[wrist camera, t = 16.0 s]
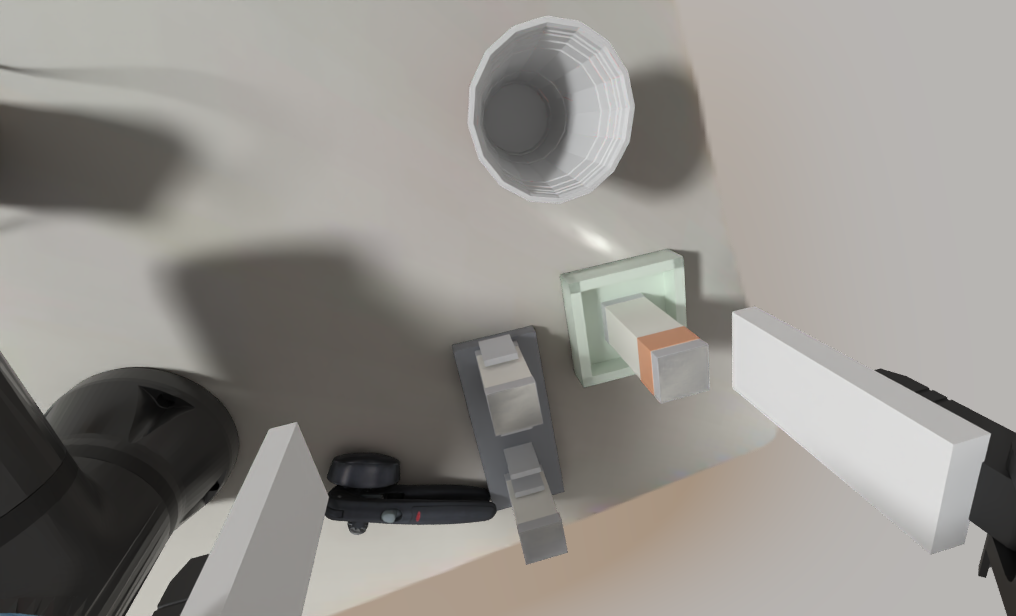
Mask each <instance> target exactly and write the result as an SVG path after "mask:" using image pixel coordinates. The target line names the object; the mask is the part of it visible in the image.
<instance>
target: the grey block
mask: <svg viewBox="0 0 1016 616" xmlns="http://www.w3.org/2000/svg"><path fill="white" fill-rule="evenodd" d="M540 468H541V472H540V475H541V478H542V481H543V484H544V488H545V490H543V491H539V492H535V493H532V494H528V495H525V496H521V497H518V498H516V497H515V494H514V490H513V486H512V482H511V478H510V475H509V473H507V474H504V477H505V481H506V485H507V489H508V493H509V497H510V502H511V506H512V510H513V512H514V516H515V520H516V524H517V529H518V533H519V537H520V541H521V545H522V549H523V554H524V558H525V561H526V565H527V564H530V563H534V562H537V561H541V560H544V559H547V558H551V557H554V556H558V555H561V554H564V553H567V552H568V551H567V546H566V540H565V536H564V530H563V524H562V520H561V517H560V514H559V513H558V511H557V508H556V505H555V502H554V500H553V497H552V494H551V491H550V489H549V486H548V483H547V480H546V478H545V475H544V471H543V468H542V465H541V464H540Z"/></svg>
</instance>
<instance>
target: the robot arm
mask: <svg viewBox="0 0 1016 616" xmlns="http://www.w3.org/2000/svg"><path fill="white" fill-rule="evenodd" d="M732 383H733V389H734V390H735V391H737V392H738V393H739V394H740V395H741V396H742V397H744V398H745V399H746V400H747V401H748V402H750V403H751V404H752V405H753V406H754V407H756V408H757V409H758V410H759V411H760V412H762V413H763V414H764V415H765V416H766V417H767V418H769V419H770V420H771V421H772V422H773V423H775V424H776V425H777V426H778V427H779V428H781V429H782V430H783V431H784V432H785V433H787V434H788V435H789V436H790V437H791V438H792V439H794V440H795V441H796V442H797V443H798V444H800V445H801V446H802V447H803V448H804V449H806V450H807V451H808V452H809V453H810V454H812V455H813V456H814V457H815V458H817V460H819V461H820V462H821V463H822V464H823V465H825V466H826V467H827V468H828V469H829V470H831V471H832V472H833V473H834V474H835V475H837V476H838V477H839V478H840V479H841V480H842V481H844V482H845V483H846V484H847V485H848V486H850V487H851V488H852V489H853V490H854V491H856V492H857V493H858V494H859V495H860V496H862V497H863V498H864V499H865V500H866V501H867V502H869V503H870V504H871V505H872V506H873V507H875V508H876V509H877V510H878V511H880V512H881V513H882V514H883V515H884V516H885V517H887V518H888V519H889V520H890V521H891V522H893V523H894V524H895V525H896V526H897V527H898V528H900V529H901V530H902V531H903V532H904V533H906V534H907V535H908V536H909V537H910V538H912V539H913V540H914V541H915V542H916V543H918V544H919V545H920V546H921V547H922V548H923V549H925V550H926V551H927V552H928V553H930V554H934V553H937V552H940V551H943V550H947V549H950V548H953V547H956V546H959V545H962V544H964V543H965V538H966V535H967V530H968V526H969V522H970V521H971V522H973V523H974V524H975V525H977V526H978V527H980V528H981V529H982V530H984V531H985V532H987V533H988V534H987V538H986V541H985V545H984V549H983V553H982V556H981V560H980V564H979V572H978V575H979V576H981V577H985V578H986V576H987V572H988V569H989V567H992V570H993V573H994V576H995V579H996V582H997V585H998V588H999V591H1000V595H1001V597H1002V601H1003V604H1004V607H1005V610H1006V613H1007V616H1016V433H1015V432H1013V431H1011V430H1009V429H1007V428H1005V427H1003V426H1001V425H1000V424H997V423H996V422H994V421H992V420H990V419H988V418H986V417H984V416H982V415H980V414H978V413H976V412H974V411H972V410H970V409H969V408H967V407H965V406H963V405H961V404H959V403H957V402H955V401H953V400H948V399H947V397H946V396H944V395H942V394H940V393H938V392H936V391H934V390H932V391H930V390H929V388H928V387H926V386H924V385H922V384H920V383H918V382H917V381H914V380H913V379H911V378H909V377H907V376H903V375H900V374H897V373H893V372H890V371H886V370H883V369H877V370H873V369H870V368H869V367H867V366H865V365H863V364H862V363H859V362H858V361H856V360H854V359H852V358H851V357H849V356H847V355H845V354H843V353H841V352H839V351H838V350H836V349H834V348H832V347H830V346H828V345H826V344H825V343H823V342H821V341H819V340H817V339H815V338H813V337H812V336H810V335H808V334H806V333H804V332H802V331H801V330H799V329H797V328H795V327H793V326H791V325H790V324H788V323H786V322H784V321H782V320H780V319H778V318H777V317H775V316H773V315H771V314H769V313H767V312H766V311H764V310H762V309H760V308H758V307H756V306H753V307H749V308H745V309H741V310H737V311H733V312H732ZM238 448H239V442H238V434H237V430H236V427H235V424H234V422H233V420H232V418H231V416H230V414H229V413H228V411H227V410H226V409H225V407H224V406H223V405H222V404H221V403H220V401H219V400H218V399H217V398H216V397H214V396H213V395H212V394H211V393H210V392H208V391H207V390H206V389H204V388H203V387H201V386H200V385H198V384H196V383H194V382H192V381H190V380H188V379H186V378H184V377H181V376H179V375H176V374H173V373H169V372H165V371H161V370H155V369H148V368H122V369H115V370H110V371H106V372H102V373H99V374H96V375H94V376H92V377H89V378H87V379H85V380H83V381H82V382H80V383H79V384H77V385H76V386H75V387H73V388H72V389H71V390H69V391H68V392H67V393H66V394H64V395H63V396H62V397H60V398H59V399H58V400H57V401H56V402H55V403H54V404H53V405H52V406H51V407H50V408H49V409H48V410H47V412H46V413H45V414H44V415H43V413H42V412H41V410H40V409H39V407H38V406H37V404H36V403H35V402H34V400H33V399H32V397H31V396H30V394H29V393H28V391H27V390H26V388H25V387H24V385H23V384H22V382H21V381H20V379H19V378H18V376H17V375H16V373H15V372H14V371H13V369H12V368H11V366H10V365H9V363H8V362H7V360H6V359H5V357H4V356H3V354H2V353H1V351H0V616H125V615H126V613H127V612H128V610H129V608H130V606H131V604H132V603H133V601H134V599H135V597H136V596H137V594H138V592H139V590H140V589H141V587H142V585H143V583H144V581H145V580H146V578H147V576H148V574H149V573H150V571H151V569H152V567H153V566H154V564H155V562H156V560H157V558H158V557H159V555H160V553H161V551H162V550H163V548H164V546H165V544H166V542H167V541H168V539H169V537H170V536H171V534H172V533H173V531H174V530H176V529H177V528H178V527H179V526H180V525H182V524H183V523H184V522H185V521H186V520H188V519H189V518H190V517H191V516H192V515H194V514H195V513H196V512H197V511H199V510H200V509H201V508H202V507H203V506H205V505H206V504H207V503H208V502H209V501H210V500H211V499H212V498H214V497H215V495H216V494H217V493H218V492H219V491H220V489H221V488H222V487H223V485H224V484H225V482H226V480H227V478H228V476H229V475H230V473H231V471H232V469H233V467H234V465H235V462H236V459H237V455H238ZM328 498H329V496H328V494H327V491H326V489H325V487H324V484H323V482H322V480H321V477H320V475H319V472H318V470H317V468H316V465H315V463H314V461H313V458H312V456H311V454H310V451H309V449H308V446H307V444H306V442H305V439H304V437H303V435H302V432H301V430H300V428H299V425H298V423H297V422H295V423H291V424H287V425H283V426H279V427H275V428H271V429H269V430H268V433H267V435H266V437H265V439H264V441H263V443H262V445H261V447H260V449H259V451H258V454H257V456H256V458H255V460H254V462H253V464H252V466H251V468H250V470H249V472H248V474H247V477H246V479H245V481H244V483H243V485H242V487H241V489H240V491H239V493H238V495H237V498H236V500H235V502H234V504H233V506H232V508H231V510H230V512H229V514H228V516H227V519H226V521H225V523H224V525H223V527H222V529H221V531H220V533H219V535H218V537H217V539H216V542H215V544H214V546H213V548H212V550H211V552H210V554H207V555H203V556H199V557H196V558H192V559H190V560H189V561H188V563H187V564H186V565H185V566H184V567H183V568H182V569H181V570H180V572H179V573H178V574H177V575H176V576H175V577H174V578H173V579H172V581H171V582H170V583H169V585H168V587H167V589H166V591H165V593H164V594H163V596H162V598H161V600H160V602H159V604H158V606H157V607H158V609H157V611H154V613H153V615H152V616H301V615H302V611H303V606H304V602H305V598H306V593H307V589H308V585H309V581H310V576H311V572H312V568H313V563H314V559H315V555H316V550H317V546H318V542H319V537H320V533H321V529H322V524H323V520H324V516H325V511H326V507H327V503H328Z"/></svg>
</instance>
